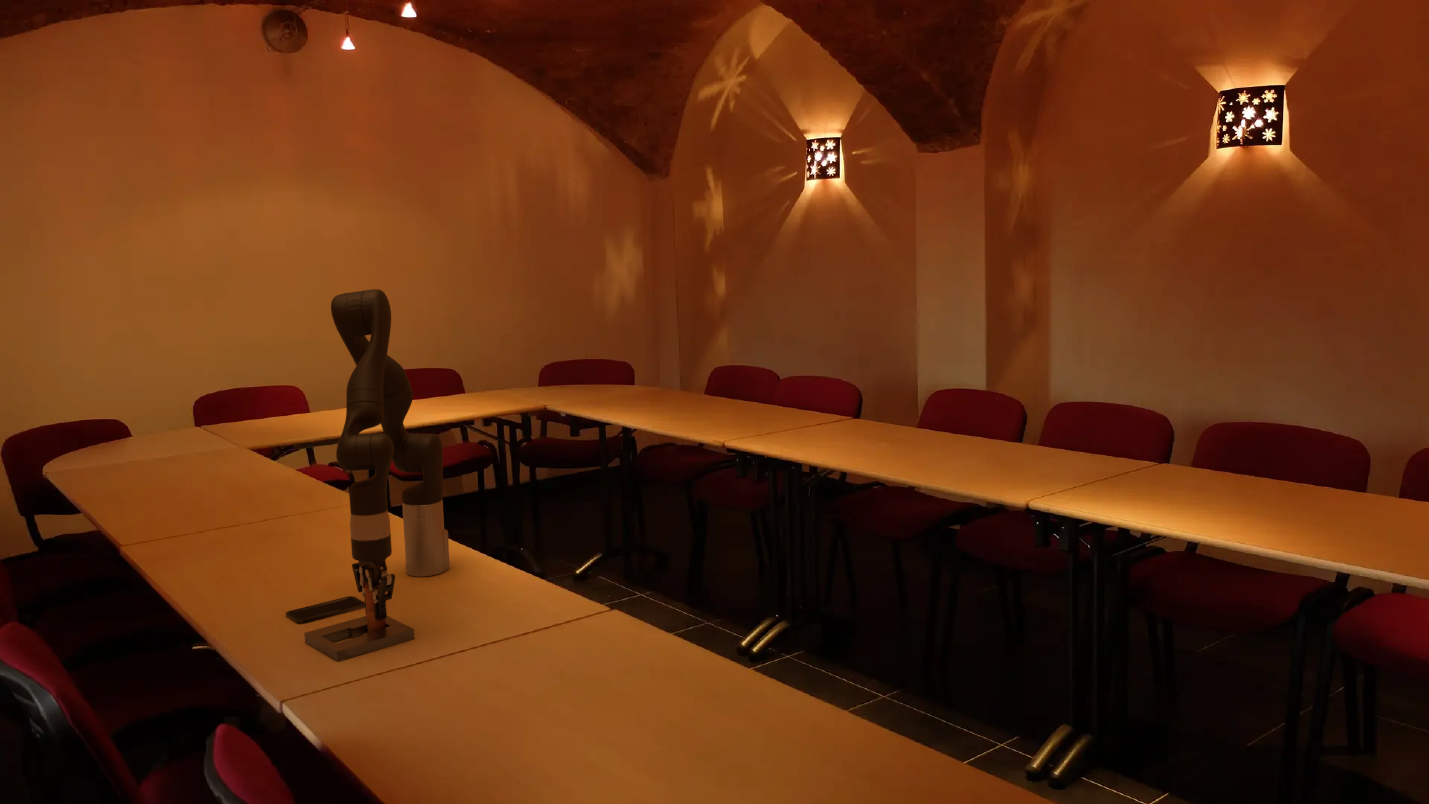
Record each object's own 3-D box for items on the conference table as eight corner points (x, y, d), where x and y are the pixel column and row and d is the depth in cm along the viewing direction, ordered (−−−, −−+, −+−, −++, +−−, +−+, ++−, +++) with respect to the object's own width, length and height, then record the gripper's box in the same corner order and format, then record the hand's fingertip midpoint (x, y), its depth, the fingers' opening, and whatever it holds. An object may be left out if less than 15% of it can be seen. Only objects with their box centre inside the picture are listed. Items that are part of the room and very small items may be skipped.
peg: (380, 627, 216) (377, 580, 215) (389, 631, 214) (386, 583, 212) (364, 632, 214) (361, 584, 212) (373, 636, 211) (369, 588, 210)
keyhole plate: (380, 621, 222) (379, 612, 222) (414, 638, 212) (413, 628, 212) (305, 642, 211) (304, 632, 210) (337, 661, 201) (336, 651, 201)
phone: (283, 612, 226) (351, 595, 236) (284, 617, 226) (352, 600, 236) (299, 621, 220) (367, 603, 230) (299, 626, 220) (368, 608, 230)
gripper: (406, 536, 208) (411, 620, 211) (371, 523, 218) (376, 604, 221) (370, 544, 203) (375, 631, 206) (336, 530, 213) (342, 613, 216)
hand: (376, 616), depth 213 cm, fingers closed on peg, 3 cm apart
